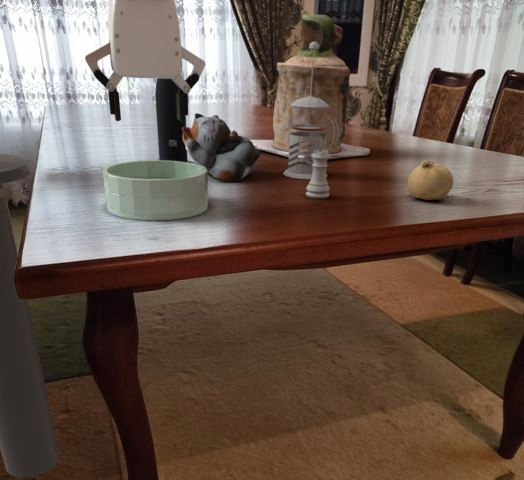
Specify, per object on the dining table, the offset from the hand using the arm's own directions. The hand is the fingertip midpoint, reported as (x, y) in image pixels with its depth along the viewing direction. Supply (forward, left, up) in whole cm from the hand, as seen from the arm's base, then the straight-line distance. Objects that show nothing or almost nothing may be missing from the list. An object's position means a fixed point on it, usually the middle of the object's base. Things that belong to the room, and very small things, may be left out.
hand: (150, 120), depth 81 cm
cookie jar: (+56, +37, -13) cm, 68 cm away
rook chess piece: (+29, -5, -13) cm, 33 cm away
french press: (+39, +12, -13) cm, 43 cm away
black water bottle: (+17, +35, -13) cm, 41 cm away
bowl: (0, 0, -13) cm, 13 cm away
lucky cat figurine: (+21, +18, -13) cm, 31 cm away
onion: (+47, -15, -13) cm, 51 cm away
